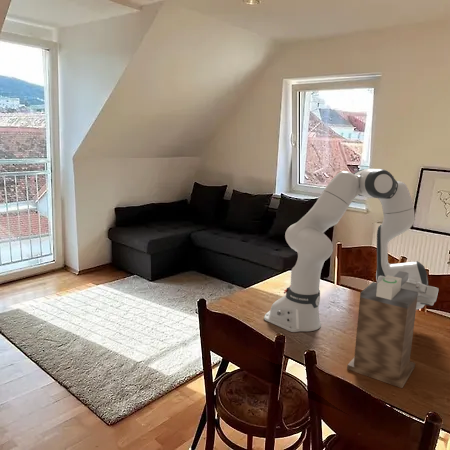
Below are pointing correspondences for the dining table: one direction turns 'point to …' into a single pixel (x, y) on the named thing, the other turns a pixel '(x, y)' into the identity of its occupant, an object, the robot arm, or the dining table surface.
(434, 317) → the dining table surface
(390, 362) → the stand
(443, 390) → the dining table surface
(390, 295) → the block
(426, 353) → the dining table surface
